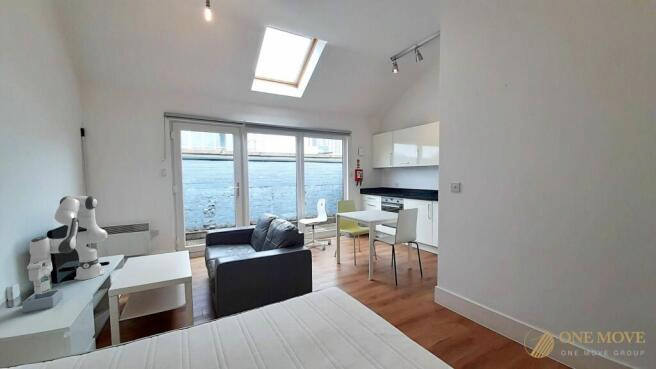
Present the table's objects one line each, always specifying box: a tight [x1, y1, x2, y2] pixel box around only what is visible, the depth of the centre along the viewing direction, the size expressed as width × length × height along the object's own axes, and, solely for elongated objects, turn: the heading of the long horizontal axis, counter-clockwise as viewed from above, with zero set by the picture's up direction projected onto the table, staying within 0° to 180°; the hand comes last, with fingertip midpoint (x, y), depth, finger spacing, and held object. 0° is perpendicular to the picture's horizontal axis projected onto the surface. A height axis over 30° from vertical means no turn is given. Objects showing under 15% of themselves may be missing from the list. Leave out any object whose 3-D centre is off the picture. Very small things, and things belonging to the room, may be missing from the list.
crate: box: [21, 288, 64, 314], centre depth 165 cm, size 14×14×7 cm
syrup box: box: [32, 269, 53, 294], centre depth 165 cm, size 6×6×14 cm
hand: (42, 282), depth 165 cm, fingers closed on syrup box, 8 cm apart
